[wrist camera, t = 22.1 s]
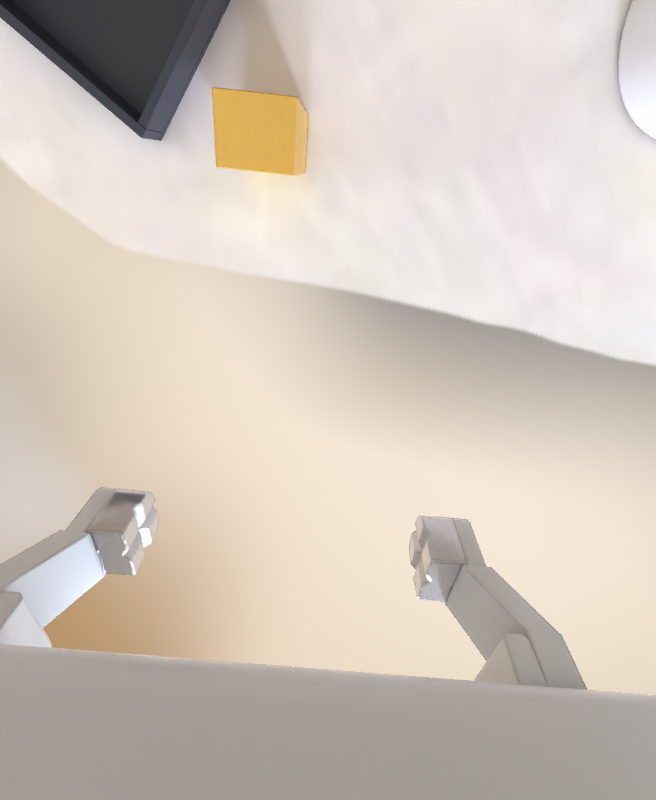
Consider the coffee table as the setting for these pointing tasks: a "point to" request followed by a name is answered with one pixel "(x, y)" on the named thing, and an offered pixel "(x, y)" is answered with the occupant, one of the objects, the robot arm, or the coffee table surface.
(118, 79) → the pan
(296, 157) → the cheese
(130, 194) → the coffee table surface
